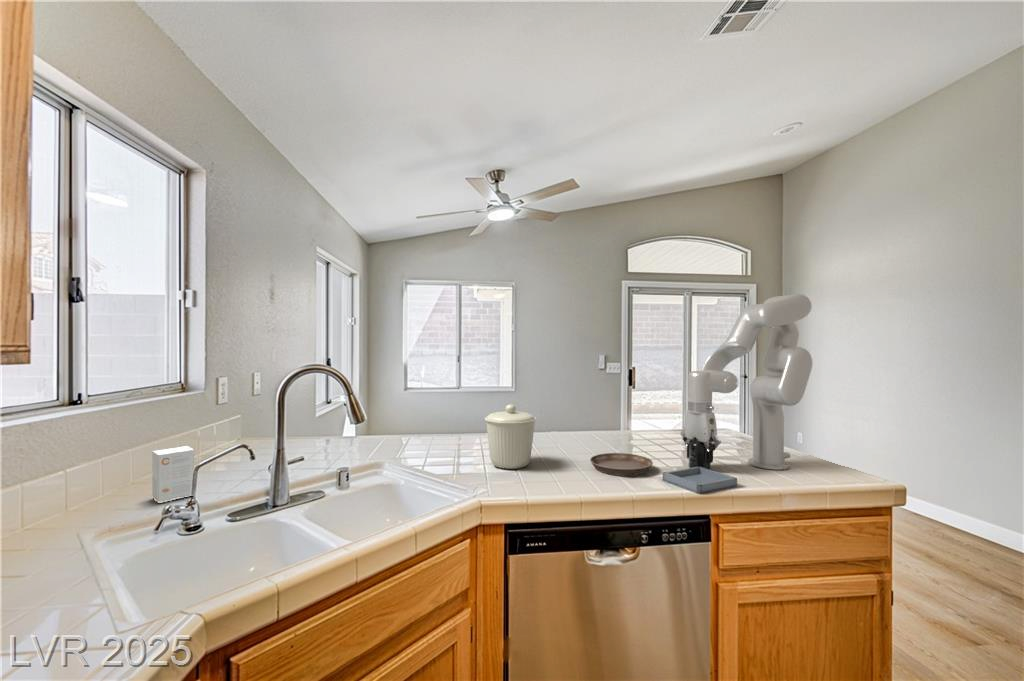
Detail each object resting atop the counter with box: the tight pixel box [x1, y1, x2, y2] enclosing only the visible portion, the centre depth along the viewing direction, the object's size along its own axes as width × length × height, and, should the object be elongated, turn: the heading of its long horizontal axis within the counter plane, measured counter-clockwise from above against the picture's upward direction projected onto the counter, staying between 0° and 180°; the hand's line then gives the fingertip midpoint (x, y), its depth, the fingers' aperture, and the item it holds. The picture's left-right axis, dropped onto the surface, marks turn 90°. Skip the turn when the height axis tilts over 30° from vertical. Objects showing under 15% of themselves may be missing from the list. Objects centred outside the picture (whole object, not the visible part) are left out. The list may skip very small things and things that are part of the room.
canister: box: [484, 404, 538, 470], centre depth 158 cm, size 18×18×21 cm
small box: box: [151, 445, 195, 501], centre depth 123 cm, size 8×6×13 cm
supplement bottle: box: [688, 438, 711, 470], centre depth 155 cm, size 7×7×12 cm
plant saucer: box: [589, 452, 654, 476], centre depth 155 cm, size 21×21×3 cm
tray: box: [662, 467, 738, 495], centre depth 139 cm, size 16×14×2 cm
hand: (699, 459), depth 155 cm, fingers closed on supplement bottle, 6 cm apart
